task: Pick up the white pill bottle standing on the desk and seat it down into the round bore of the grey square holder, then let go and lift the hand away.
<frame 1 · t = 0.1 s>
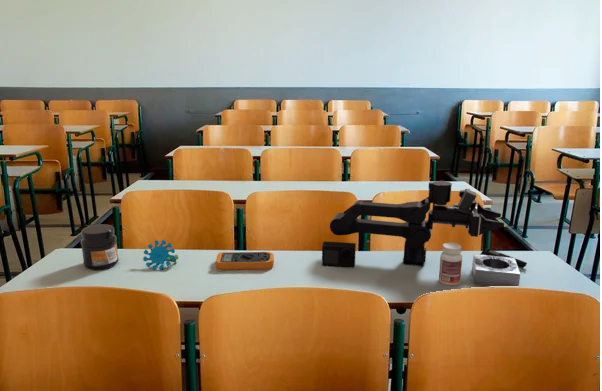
hand: (502, 219, 156), 17 cm above the table, tool horizontal, fingers open, 9 cm apart
grey square holder: (494, 279, 154), on the table
digital camera: (338, 266, 164), on the table
pill bottle: (449, 281, 153), on the table
supplement container: (101, 265, 164), on the table
multimeter: (245, 266, 164), on the table
toy virus model: (161, 266, 163), on the table
electric trimmer: (502, 262, 167), on the table
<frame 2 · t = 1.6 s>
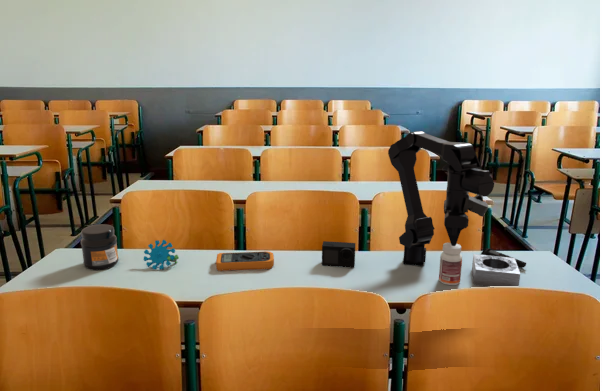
hand: (453, 240, 149), 13 cm above the table, tool pointing down, fingers open, 9 cm apart
nothing on the table moved.
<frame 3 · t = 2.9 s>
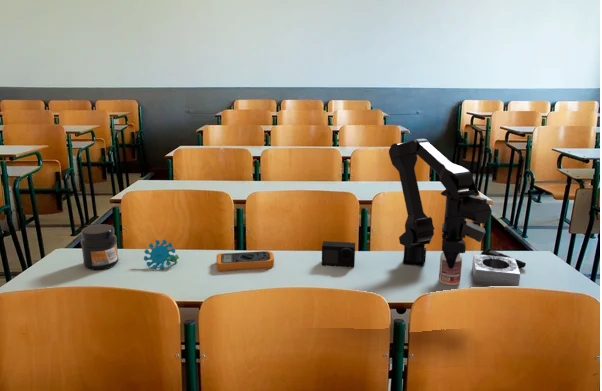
hand: (450, 264, 151), 6 cm above the table, tool pointing down, fingers closed on pill bottle, 6 cm apart
pill bottle: (449, 281, 153), on the table, touching gripper
everything else where it was.
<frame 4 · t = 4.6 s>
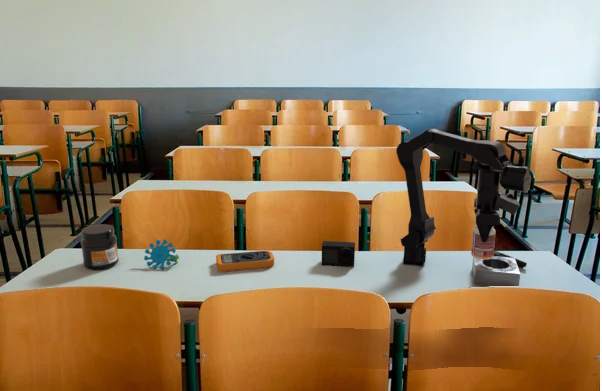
hand: (483, 238, 149), 13 cm above the table, tool pointing down, fingers closed on pill bottle, 6 cm apart
pill bottle: (481, 257, 151), point 8 cm above the table, touching gripper
everything else where it was.
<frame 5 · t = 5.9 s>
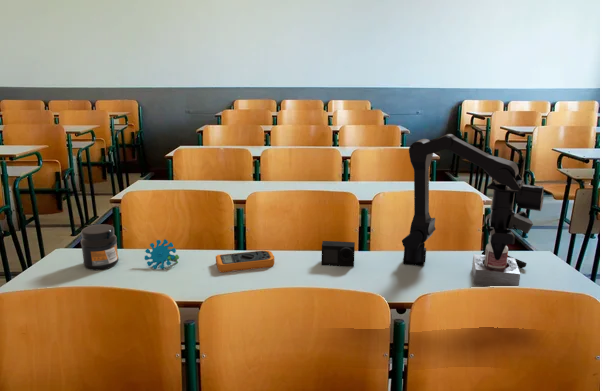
hand: (496, 255, 152), 8 cm above the table, tool pointing down, fingers closed on pill bottle, 6 cm apart
pill bottle: (494, 273, 154), point 2 cm above the table, touching gripper
when the fingers open (7 cm above the table, at t = 6.5 s): pill bottle drops 1 cm, resting in grey square holder.
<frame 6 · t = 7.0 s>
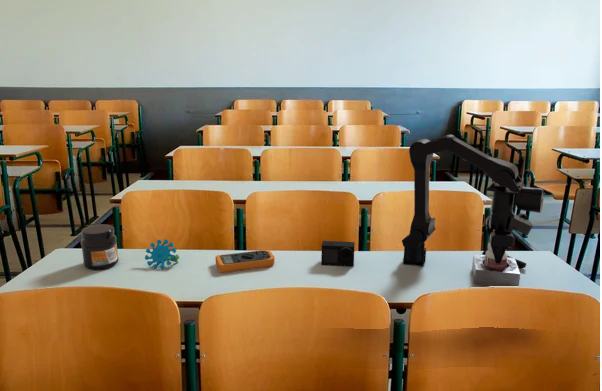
hand: (496, 257, 152), 7 cm above the table, tool pointing down, fingers open, 9 cm apart
pill bottle: (493, 279, 154), resting in grey square holder
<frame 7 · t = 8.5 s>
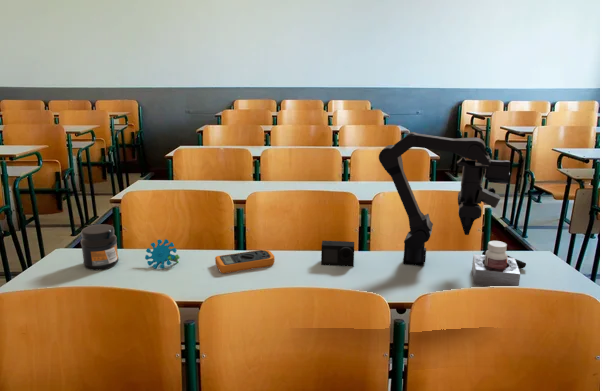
hand: (466, 229, 158), 13 cm above the table, tool pointing down, fingers open, 9 cm apart
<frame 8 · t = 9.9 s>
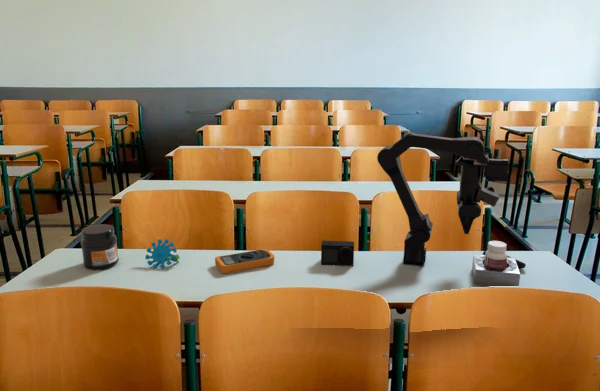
hand: (465, 228, 158), 13 cm above the table, tool pointing down, fingers open, 9 cm apart
at the end: pill bottle 0.1 cm from the grey square holder (horizontally); pill bottle resting in grey square holder; pill bottle tilted 0° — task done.
